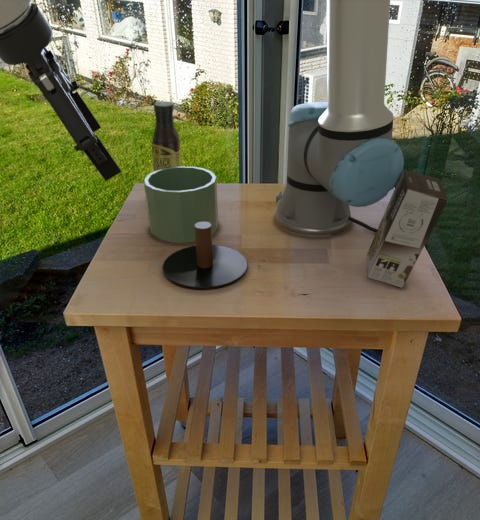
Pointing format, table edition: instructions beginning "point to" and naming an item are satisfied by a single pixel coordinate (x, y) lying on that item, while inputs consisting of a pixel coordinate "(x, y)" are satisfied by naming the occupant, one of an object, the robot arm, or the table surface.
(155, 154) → the sauce bottle
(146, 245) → the table surface
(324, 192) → the robot arm
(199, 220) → the pot
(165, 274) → the lid
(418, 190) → the coffee box
